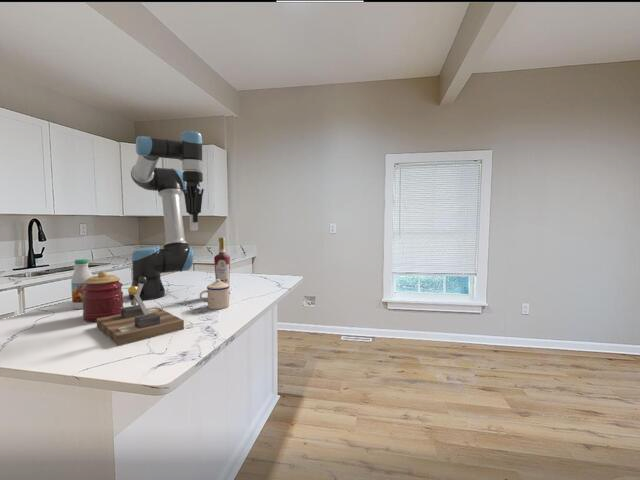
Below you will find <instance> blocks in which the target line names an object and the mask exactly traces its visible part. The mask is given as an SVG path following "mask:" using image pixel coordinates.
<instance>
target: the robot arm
mask: <svg viewBox="0 0 640 480" xmlns="http://www.w3.org/2000/svg"><path fill="white" fill-rule="evenodd" d="M135 151H136V154H137V155H138V156H137V160H136V162H135V164H134V165H133V166H132V167H131V170H130V177H131V180H132V181H133V183H134V184H136V186H138V187H140V188H142V189H144V190H146V191H157V195H158V196H159V197H161V203H162V211H163V212H162V213H163V222H164V232H165V243H164V244H163V245H162V246H163V247H162V248H161V247H160V246H159V245H154V246H153V245H152V246H151V245H149V246H144V247H139V248H136V249H134V250H133V251H132V253H131V263H132V270H131V271H132V283H131V286H136V287H138V284H139V282H138V279H139V278H140V277H142V276H144V277H146V278H147V282H146V283H145V284H144V285H143V287H142V290H141V292H140V295H139V296H140V298H141V300H142V301H145V300H153V299H154V300H155V299H158V298H159V299H160V298H162V297H165V295H166V289H165V287H164V285H163V282H162V280H161V278H162V277H161V274H164V273H165V274H166V273H175V272H176V273H177V272H179V273H180V272H186V271H189V270H191V268H192V267H193V264H194V255H195V254H194V248H193V247H191V246H190V245H189V243H188V242H187V240H186V238H185V229H184V220H183V210H182V204H181V203H182V202H181V197H182V195H184V204H185V209H186V210H185V212H186V213H187V214H189V231H191V232H195V231H196V232H197V231H199V219H198V218H199V217H198V216H199V214H201V212H202V206H203V194H204V191H205V189H204V188H201V184H200V183H203V181H204V179H203V178H204V177H203V175H204V174H203V167H204V165H203V137H202V134H201V133H200V132H199V131H194V130H185V131H182V133H181V138H180V140H176V139H168V138H161V137H160V138H159V137H152V136H148V135H147V136H143V135H142V136H141V135H140V136H139V135H138V136H137V137H136V140H135ZM160 158H163V159H172V160H173V159H174V160H179V161H181V166H182V167H181V168H182V170H181V169H179V168H178V169H177V168H173V167H172V168H169V167H168V168H164V167H156V166H157V165H158V162H159V160H160ZM131 286H130V287H131ZM128 298H129V300H133V298H134V296H133V295H131V294H130V293H129V292H128Z"/></svg>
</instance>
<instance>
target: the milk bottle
mask: <svg viewBox="0 0 640 480" xmlns="http://www.w3.org/2000/svg"><path fill="white" fill-rule="evenodd" d="M74 266H75V268H74V269H75V270H74V272H73V273H72V277H71V285H70V286H71V303H72V304H71V305H72V306H71V307H72V309H75V310H83V299H82V296H83V290H82V289H81V288H82V287H83V286H85V284H86V283H84V281H85V280H87V279H88V278H89V277H93V273H92V272H91V270H90V269H89V268H90V267H89V259H88V258H81V259H80V258H79V259H75V260H74Z"/></svg>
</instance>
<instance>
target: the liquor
mask: <svg viewBox="0 0 640 480" xmlns="http://www.w3.org/2000/svg"><path fill="white" fill-rule="evenodd" d="M225 243H226V238H225V237H218V244H219V247H218V248H219V249H218V254H216V255H215V256H214V257H213V258H214V259H213V260H214V261H213V262H214V275H215V281H216V280H217V279H220V280H221V282H224V283H226V284H228V285H229V286H230V273H231V271H230V269H231V256H230V255H229V254H227V253H226V245H225ZM230 294H231V292H230V291H229V295H230Z"/></svg>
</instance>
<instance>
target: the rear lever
mask: <svg viewBox="0 0 640 480" xmlns="http://www.w3.org/2000/svg"><path fill="white" fill-rule="evenodd" d="M138 282H139V284H138V287H137V288H138V292H137V293H138V294H139V295H140V292H141V290H142V287H143V285H144V284H145V283H146V282H147V278H146V277H144V276H142V277H140V278H139V279H138ZM131 300H132V299H131ZM137 304H138V303H137V301H136V299H135V298H133V300H132V301H131V304H130V306H136V305H137Z"/></svg>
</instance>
